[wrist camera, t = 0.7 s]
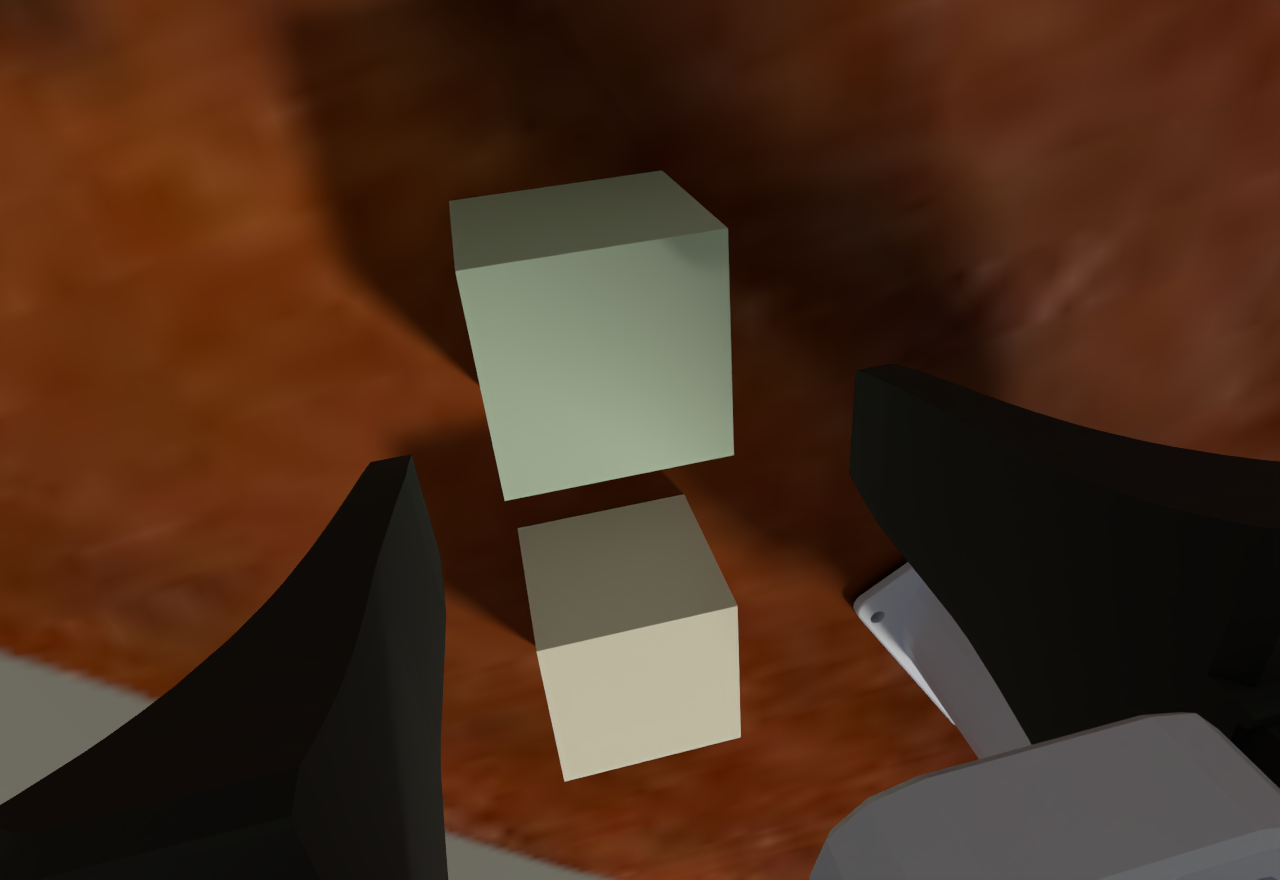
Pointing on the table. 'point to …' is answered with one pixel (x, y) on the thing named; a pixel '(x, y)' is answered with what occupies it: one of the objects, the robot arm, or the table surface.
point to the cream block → (632, 635)
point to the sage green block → (597, 329)
